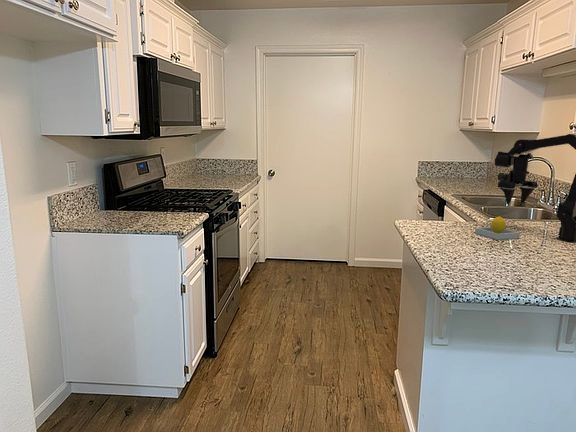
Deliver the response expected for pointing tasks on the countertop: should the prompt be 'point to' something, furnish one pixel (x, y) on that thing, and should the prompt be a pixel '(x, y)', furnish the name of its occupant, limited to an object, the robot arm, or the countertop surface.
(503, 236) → the dish
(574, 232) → the robot arm
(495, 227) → the lemon
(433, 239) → the countertop surface
